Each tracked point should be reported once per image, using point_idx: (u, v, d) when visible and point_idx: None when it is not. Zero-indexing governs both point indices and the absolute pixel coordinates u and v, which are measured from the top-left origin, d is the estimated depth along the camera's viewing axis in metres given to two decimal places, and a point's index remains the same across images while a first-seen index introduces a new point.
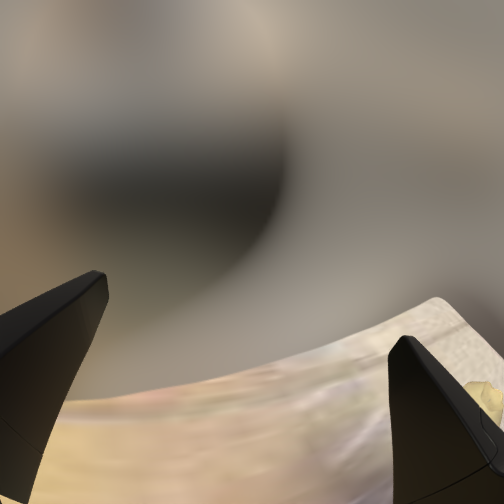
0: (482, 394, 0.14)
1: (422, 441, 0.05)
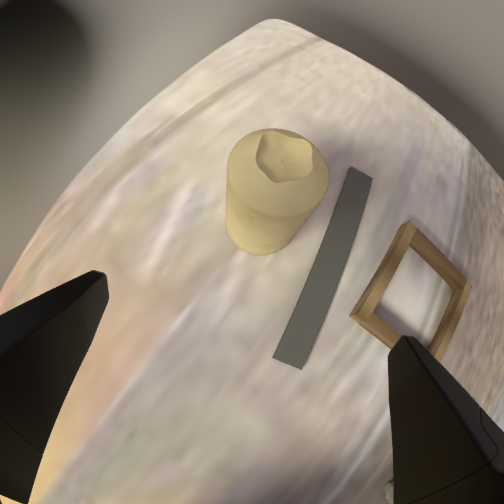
0: (266, 152, 0.14)
1: (422, 441, 0.05)
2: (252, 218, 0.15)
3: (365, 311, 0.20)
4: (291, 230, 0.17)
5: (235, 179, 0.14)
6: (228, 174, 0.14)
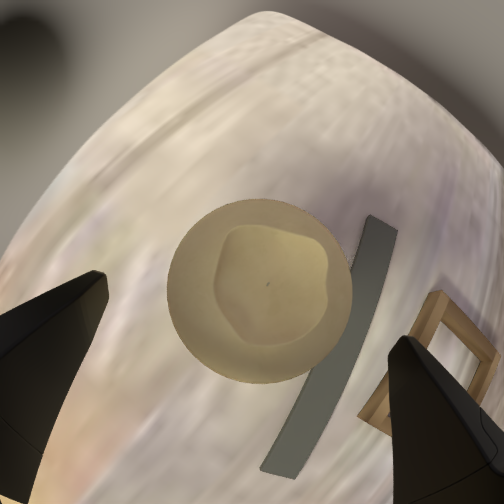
0: (236, 266, 0.07)
1: (422, 441, 0.05)
2: None
3: (378, 417, 0.14)
4: None
5: (179, 321, 0.07)
6: (169, 304, 0.08)
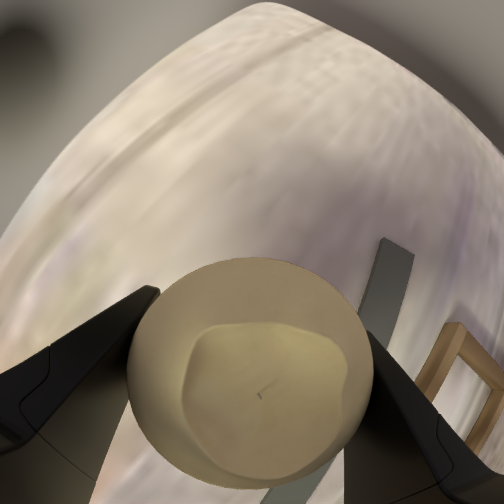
0: (213, 373, 0.05)
1: (370, 447, 0.05)
2: None
3: None
4: None
5: (144, 426, 0.05)
6: (131, 403, 0.05)
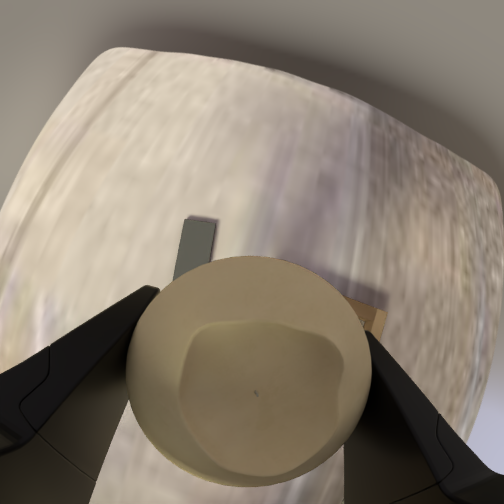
0: (211, 370, 0.05)
1: (370, 447, 0.05)
2: None
3: None
4: None
5: (143, 423, 0.05)
6: (130, 400, 0.05)
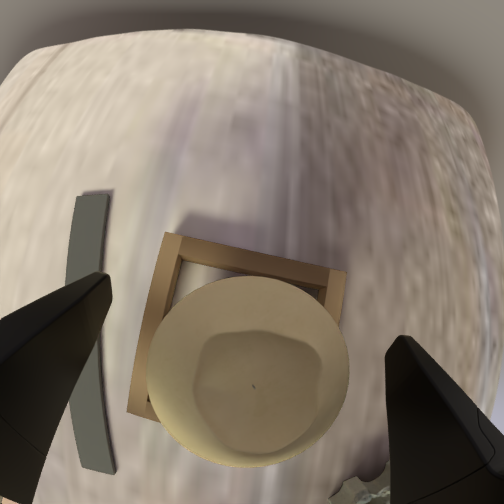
0: (217, 368, 0.06)
1: (419, 442, 0.05)
2: None
3: (135, 404, 0.12)
4: None
5: (161, 414, 0.06)
6: (149, 395, 0.07)
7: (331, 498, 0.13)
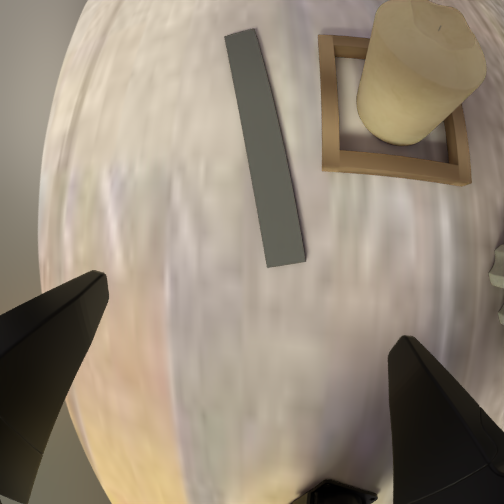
0: (419, 19, 0.07)
1: (422, 441, 0.05)
2: (422, 95, 0.09)
3: (330, 155, 0.15)
4: (453, 109, 0.10)
5: (398, 49, 0.08)
6: (385, 44, 0.08)
7: (491, 271, 0.15)
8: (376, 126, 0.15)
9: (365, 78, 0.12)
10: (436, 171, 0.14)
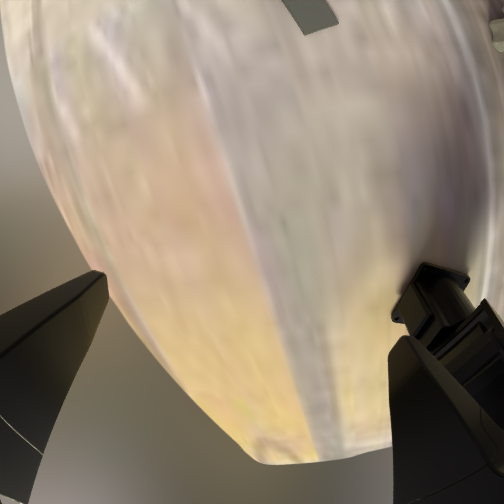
0: None
1: (422, 441, 0.05)
2: None
3: None
4: None
5: None
6: None
7: (493, 40, 0.10)
8: None
9: None
10: None
